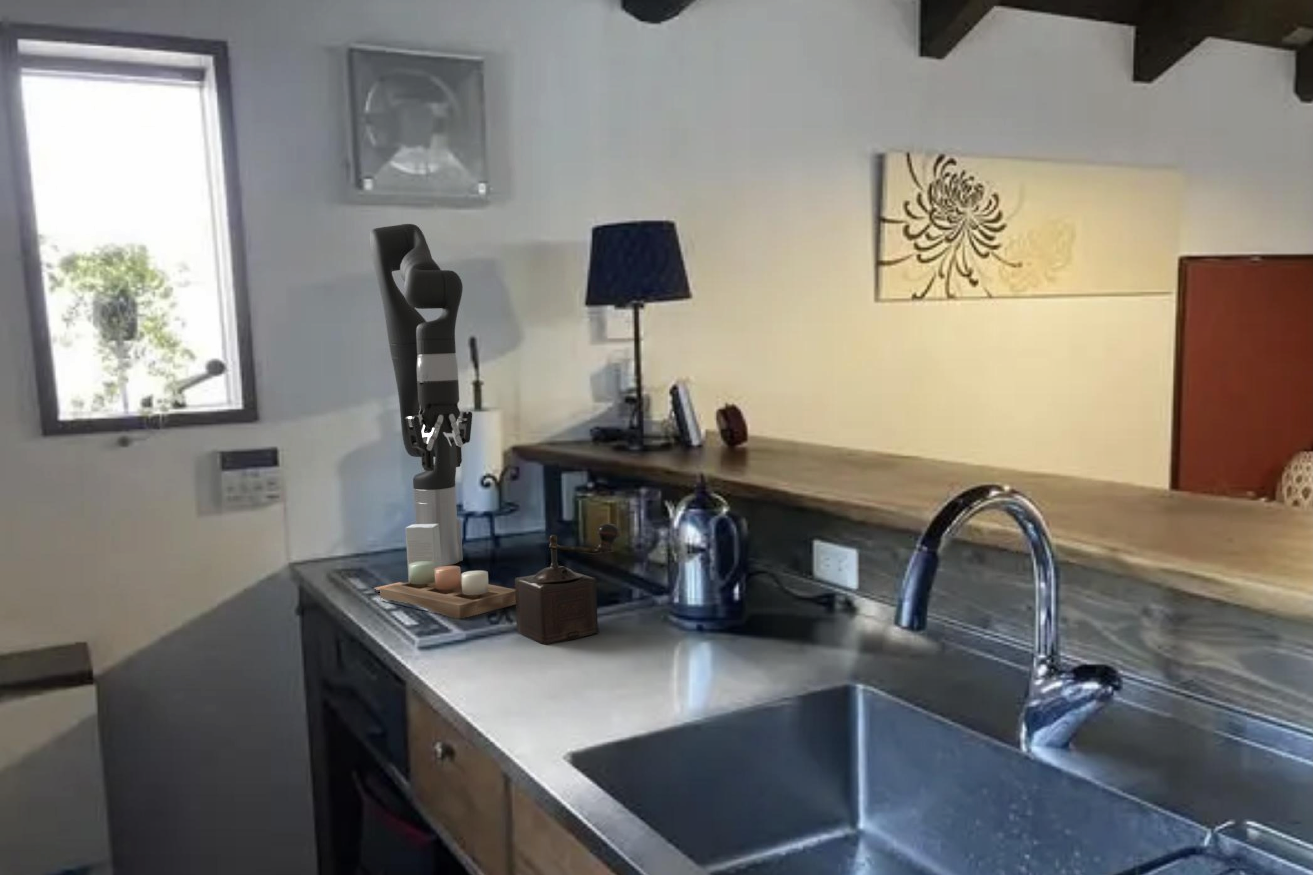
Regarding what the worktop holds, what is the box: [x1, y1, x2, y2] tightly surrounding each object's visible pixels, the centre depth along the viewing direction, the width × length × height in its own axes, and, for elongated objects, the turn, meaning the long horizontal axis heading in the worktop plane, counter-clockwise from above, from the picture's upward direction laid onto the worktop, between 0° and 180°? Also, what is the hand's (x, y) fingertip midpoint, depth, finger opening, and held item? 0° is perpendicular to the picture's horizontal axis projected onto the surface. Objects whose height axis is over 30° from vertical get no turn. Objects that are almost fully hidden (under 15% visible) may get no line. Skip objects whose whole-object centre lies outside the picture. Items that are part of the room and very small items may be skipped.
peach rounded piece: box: [435, 565, 462, 590], centre depth 199 cm, size 5×5×4 cm
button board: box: [379, 578, 516, 619], centre depth 200 cm, size 14×24×2 cm, turn 49°
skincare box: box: [404, 523, 442, 582], centre depth 217 cm, size 6×4×12 cm
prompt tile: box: [373, 581, 403, 590], centre depth 211 cm, size 6×6×1 cm
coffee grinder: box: [514, 522, 621, 646], centre depth 176 cm, size 16×11×18 cm
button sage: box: [409, 561, 435, 584], centre depth 205 cm, size 5×5×4 cm
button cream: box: [461, 570, 489, 595], centre depth 194 cm, size 5×5×4 cm
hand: (442, 468), depth 198 cm, fingers open, 5 cm apart
